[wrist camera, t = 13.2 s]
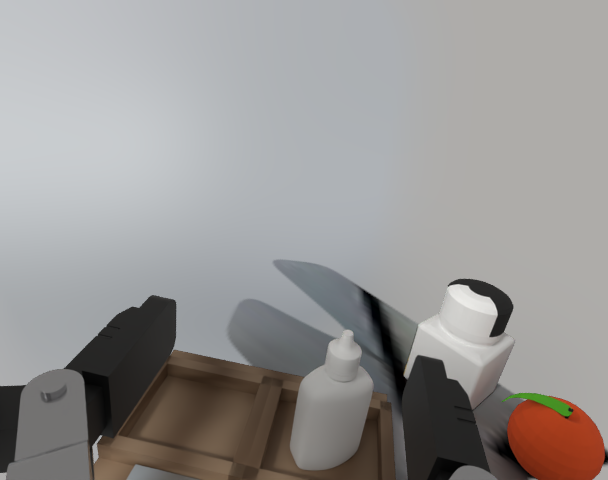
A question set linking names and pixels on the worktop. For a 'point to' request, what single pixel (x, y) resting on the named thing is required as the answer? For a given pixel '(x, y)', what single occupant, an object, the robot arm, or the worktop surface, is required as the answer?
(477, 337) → the medicine bottle
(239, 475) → the wooden compartment tray
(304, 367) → the worktop surface
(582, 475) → the clementine
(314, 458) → the eye dropper bottle
